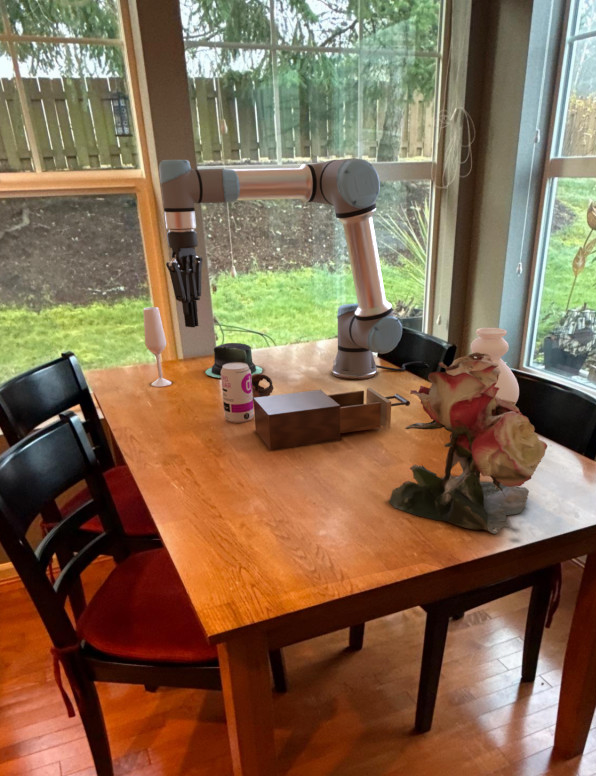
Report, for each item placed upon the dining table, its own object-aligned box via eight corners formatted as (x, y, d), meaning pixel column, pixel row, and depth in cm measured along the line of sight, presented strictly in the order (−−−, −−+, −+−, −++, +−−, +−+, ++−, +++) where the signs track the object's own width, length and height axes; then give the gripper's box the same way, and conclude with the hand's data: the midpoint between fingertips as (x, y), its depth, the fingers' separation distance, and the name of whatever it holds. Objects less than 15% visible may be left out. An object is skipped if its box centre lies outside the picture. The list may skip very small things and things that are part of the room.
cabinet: (321, 422, 175) (320, 389, 170) (340, 440, 163) (340, 405, 158) (255, 431, 169) (253, 397, 164) (270, 450, 157) (268, 414, 153)
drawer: (392, 410, 180) (393, 384, 176) (414, 425, 169) (416, 398, 165) (311, 421, 173) (310, 394, 169) (328, 437, 162) (328, 409, 158)
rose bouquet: (519, 544, 116) (546, 384, 101) (378, 507, 130) (384, 361, 115) (555, 491, 135) (582, 350, 120) (428, 464, 148) (439, 334, 133)
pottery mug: (272, 393, 200) (276, 374, 193) (268, 414, 195) (272, 395, 188) (234, 384, 198) (238, 365, 191) (230, 405, 193) (233, 386, 186)
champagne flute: (176, 382, 210) (166, 307, 198) (161, 387, 205) (150, 311, 194) (161, 379, 214) (151, 305, 202) (146, 384, 209) (135, 309, 197)
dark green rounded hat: (270, 362, 228) (258, 379, 211) (228, 385, 235) (214, 403, 218) (247, 324, 222) (234, 339, 205) (205, 349, 229) (189, 365, 212)
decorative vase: (439, 430, 168) (447, 334, 155) (456, 410, 181) (465, 321, 169) (506, 440, 161) (521, 341, 148) (519, 419, 175) (533, 326, 162)
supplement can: (259, 415, 180) (255, 363, 172) (244, 425, 173) (240, 371, 166) (234, 412, 183) (230, 360, 175) (219, 421, 176) (214, 368, 169)
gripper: (185, 228, 166) (195, 320, 178) (152, 232, 155) (165, 330, 167) (209, 228, 163) (217, 322, 175) (177, 232, 152) (188, 332, 164)
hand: (192, 326), depth 171 cm, fingers closed
